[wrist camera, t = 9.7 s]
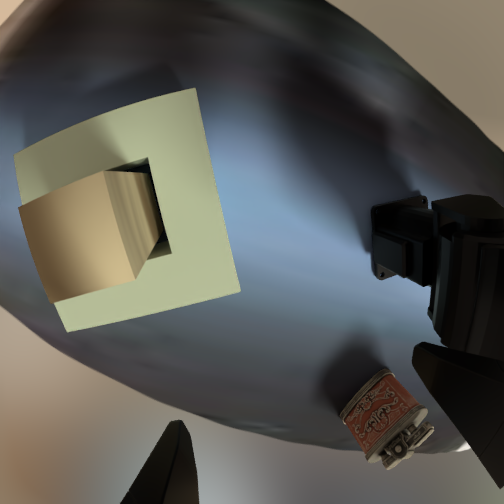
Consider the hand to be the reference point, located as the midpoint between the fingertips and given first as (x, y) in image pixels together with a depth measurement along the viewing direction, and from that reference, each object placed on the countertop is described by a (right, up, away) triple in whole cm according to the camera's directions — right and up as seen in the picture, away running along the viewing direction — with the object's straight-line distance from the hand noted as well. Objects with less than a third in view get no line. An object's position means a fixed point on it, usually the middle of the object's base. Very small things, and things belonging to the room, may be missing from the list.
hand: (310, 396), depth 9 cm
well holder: (-10, +8, +9) cm, 16 cm away
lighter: (+11, -11, +19) cm, 25 cm away
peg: (-10, +8, +9) cm, 16 cm away
